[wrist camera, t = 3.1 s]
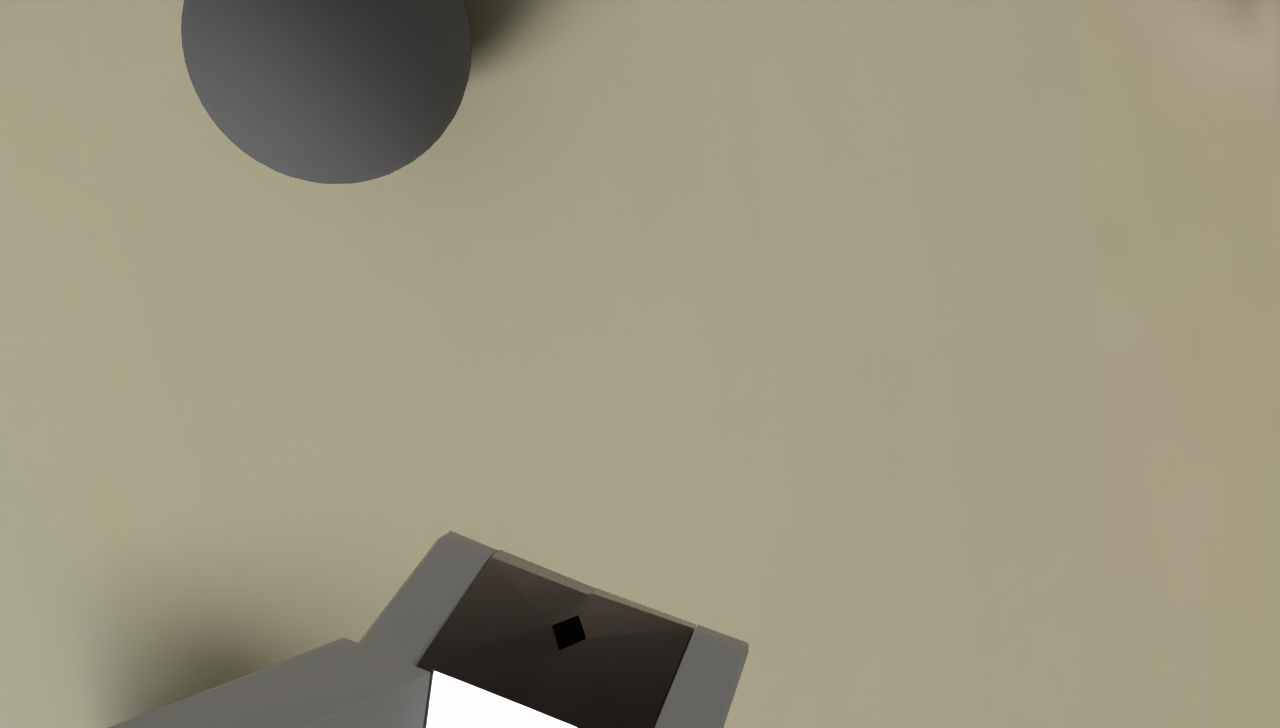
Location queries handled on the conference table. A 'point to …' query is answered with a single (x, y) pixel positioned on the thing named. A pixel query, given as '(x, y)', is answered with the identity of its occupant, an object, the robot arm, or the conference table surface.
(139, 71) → the conference table surface
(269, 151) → the dark gray ball
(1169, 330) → the conference table surface
